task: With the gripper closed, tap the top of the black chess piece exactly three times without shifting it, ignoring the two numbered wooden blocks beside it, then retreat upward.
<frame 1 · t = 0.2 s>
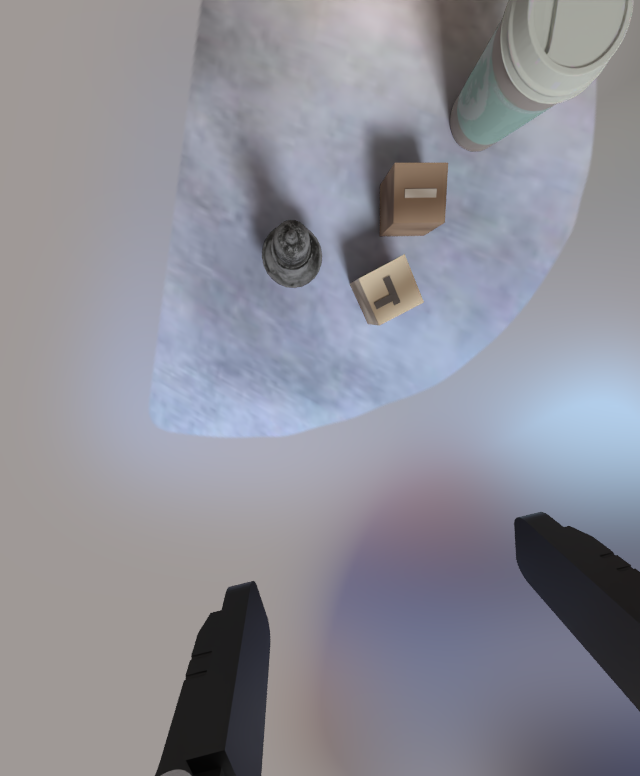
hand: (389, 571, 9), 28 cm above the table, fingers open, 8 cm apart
coffee cup: (475, 121, 32), on the table
black chess piece: (292, 262, 34), on the table
beech block digit: (378, 294, 35), on the table
walnut block digit: (402, 211, 33), on the table
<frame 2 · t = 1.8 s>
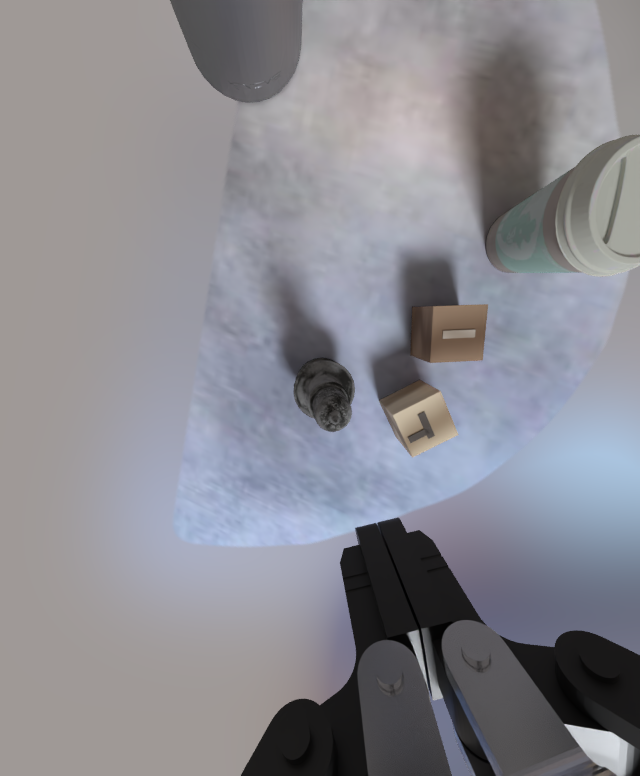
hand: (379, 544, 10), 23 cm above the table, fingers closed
coffee cup: (511, 242, 31), on the table
black chess piece: (320, 382, 33), on the table
beech block digit: (407, 409, 34), on the table
walnut block digit: (434, 330, 32), on the table
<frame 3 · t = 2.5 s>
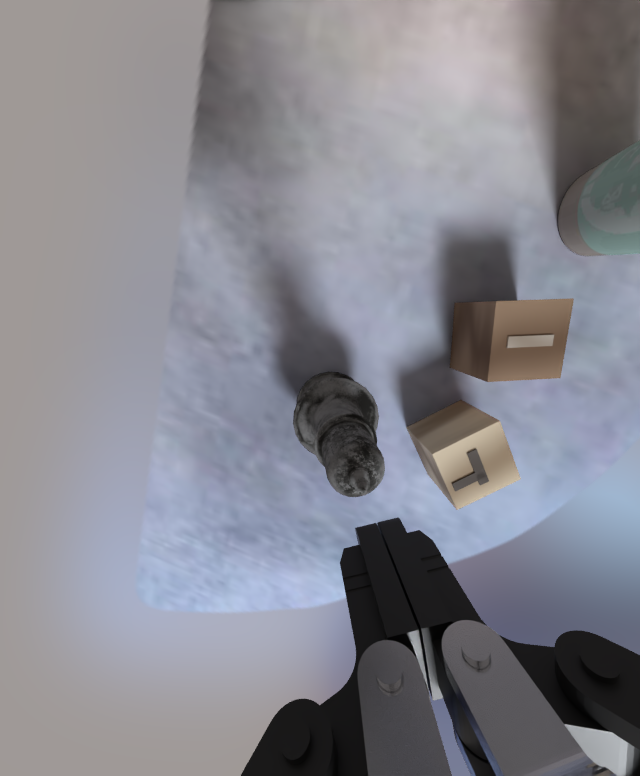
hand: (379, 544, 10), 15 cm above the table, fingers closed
coffee cup: (592, 214, 23), on the table
black chess piece: (329, 403, 25), on the table
beech block digit: (443, 437, 26), on the table
walnut block digit: (482, 334, 24), on the table
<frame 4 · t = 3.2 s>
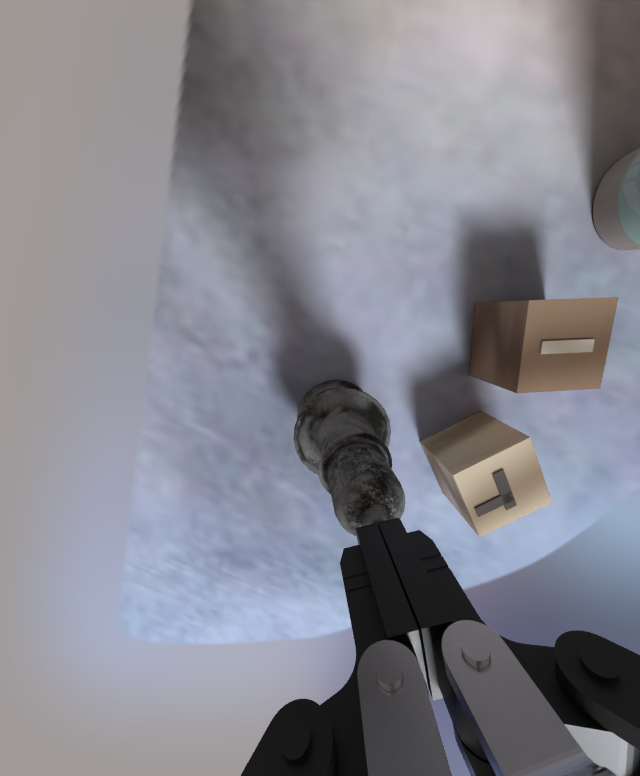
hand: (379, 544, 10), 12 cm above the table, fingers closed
coffee cup: (630, 203, 20), on the table
black chess piece: (334, 415, 22), on the table, touching gripper
beech block digit: (460, 452, 23), on the table
walnut block digit: (505, 338, 22), on the table
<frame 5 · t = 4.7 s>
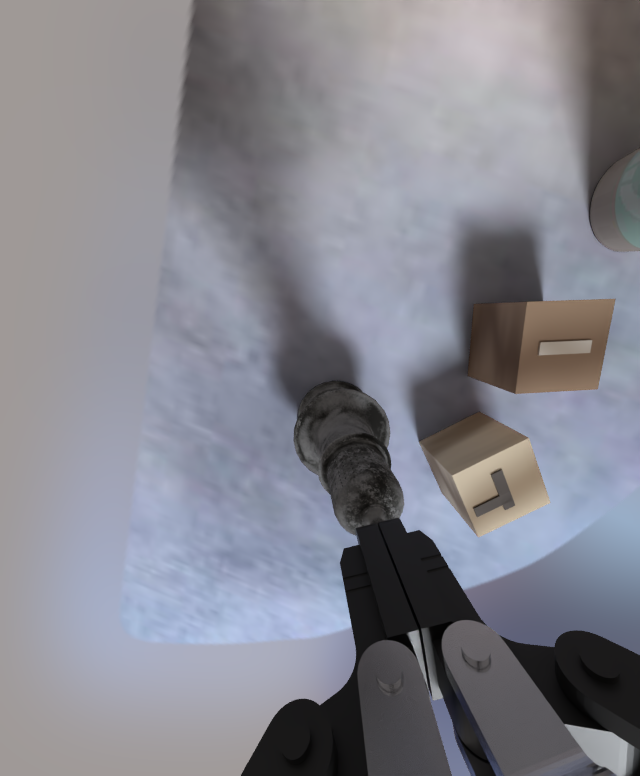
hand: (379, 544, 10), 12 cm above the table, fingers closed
coffee cup: (627, 205, 20), on the table
black chess piece: (334, 416, 22), on the table
beech block digit: (459, 453, 24), on the table
walnut block digit: (503, 339, 22), on the table
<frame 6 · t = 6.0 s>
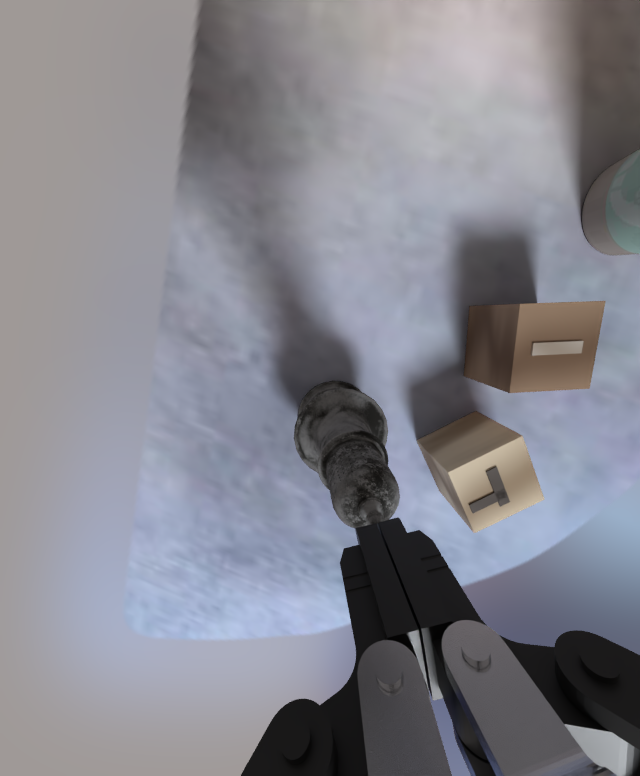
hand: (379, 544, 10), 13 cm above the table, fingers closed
coffee cup: (618, 210, 21), on the table
black chess piece: (333, 415, 23), on the table
beech block digit: (456, 451, 24), on the table
walnut block digit: (499, 340, 22), on the table
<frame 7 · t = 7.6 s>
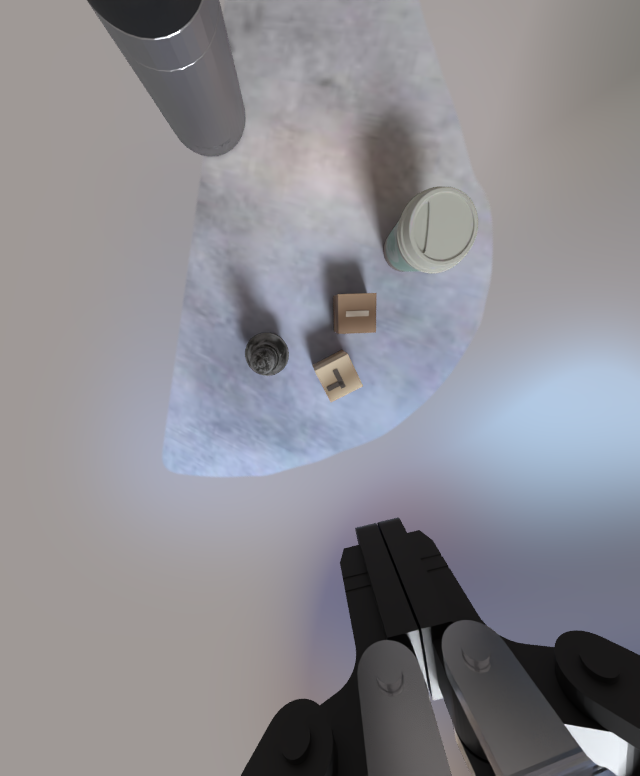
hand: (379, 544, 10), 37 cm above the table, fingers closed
coffee cup: (403, 250, 43), on the table
black chess piece: (269, 351, 45), on the table
beech block digit: (334, 371, 47), on the table
walnut block digit: (350, 313, 45), on the table
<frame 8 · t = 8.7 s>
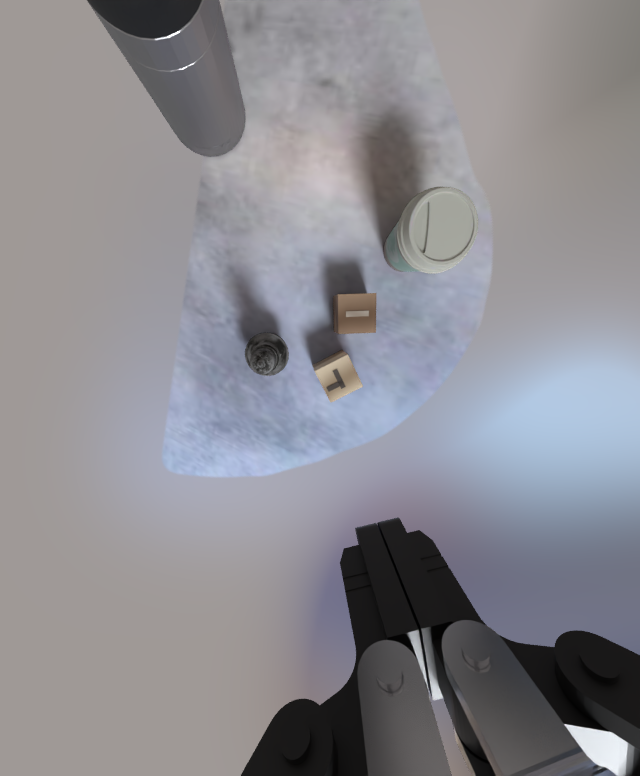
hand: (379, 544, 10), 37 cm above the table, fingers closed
coffee cup: (403, 250, 43), on the table
black chess piece: (269, 351, 45), on the table
beech block digit: (334, 371, 47), on the table
walnut block digit: (350, 313, 45), on the table
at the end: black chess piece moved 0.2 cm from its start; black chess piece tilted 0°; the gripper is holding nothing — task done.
